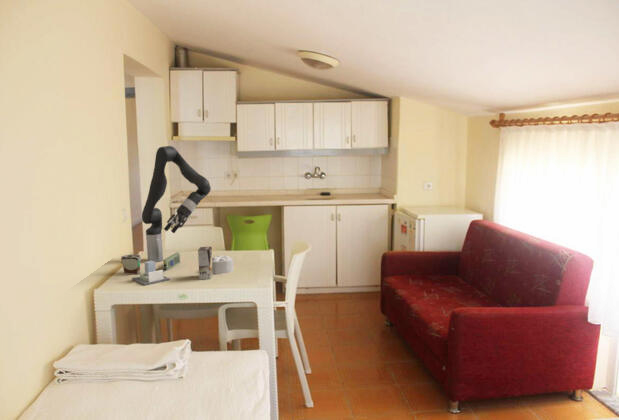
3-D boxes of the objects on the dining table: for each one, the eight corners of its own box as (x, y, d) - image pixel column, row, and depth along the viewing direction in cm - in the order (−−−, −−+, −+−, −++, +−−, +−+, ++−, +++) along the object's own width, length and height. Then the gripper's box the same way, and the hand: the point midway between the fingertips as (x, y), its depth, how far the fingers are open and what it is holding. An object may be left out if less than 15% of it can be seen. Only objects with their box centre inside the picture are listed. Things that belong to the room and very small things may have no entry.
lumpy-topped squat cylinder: (209, 270, 279) (208, 255, 278) (231, 268, 284) (230, 253, 283) (212, 274, 270) (211, 259, 269) (235, 272, 275) (234, 257, 274)
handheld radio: (181, 262, 300) (164, 273, 276) (176, 263, 301) (159, 273, 276) (180, 252, 299) (163, 261, 275) (175, 252, 300) (157, 262, 275)
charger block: (145, 278, 262) (144, 261, 261) (152, 276, 264) (151, 260, 263) (149, 279, 258) (147, 263, 257) (156, 278, 261) (155, 261, 260)
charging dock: (132, 279, 263) (131, 269, 262) (156, 274, 272) (155, 264, 271) (144, 285, 251) (143, 274, 250) (169, 280, 260) (169, 269, 260)
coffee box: (211, 279, 261) (209, 249, 259) (199, 279, 260) (197, 250, 258) (213, 274, 270) (211, 246, 268) (201, 275, 270) (199, 246, 267)
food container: (146, 271, 279) (145, 254, 278) (139, 274, 273) (138, 257, 272) (129, 270, 283) (128, 253, 282) (122, 273, 277) (120, 256, 276)
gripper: (176, 203, 277) (158, 225, 271) (188, 205, 266) (170, 228, 260) (185, 211, 281) (167, 233, 275) (197, 213, 270) (179, 236, 264)
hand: (168, 231), depth 267 cm, fingers open, 8 cm apart
